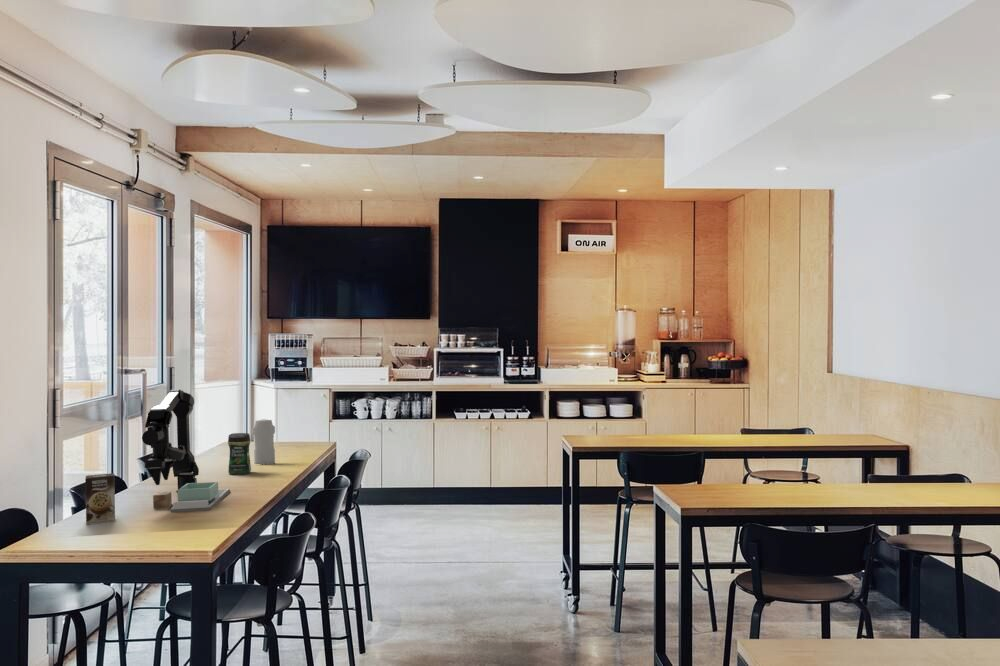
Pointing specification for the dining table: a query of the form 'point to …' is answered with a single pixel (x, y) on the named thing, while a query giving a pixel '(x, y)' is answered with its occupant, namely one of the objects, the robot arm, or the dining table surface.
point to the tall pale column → (264, 442)
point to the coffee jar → (239, 453)
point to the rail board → (199, 503)
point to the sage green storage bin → (198, 491)
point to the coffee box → (100, 498)
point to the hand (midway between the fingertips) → (162, 482)
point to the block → (162, 500)
